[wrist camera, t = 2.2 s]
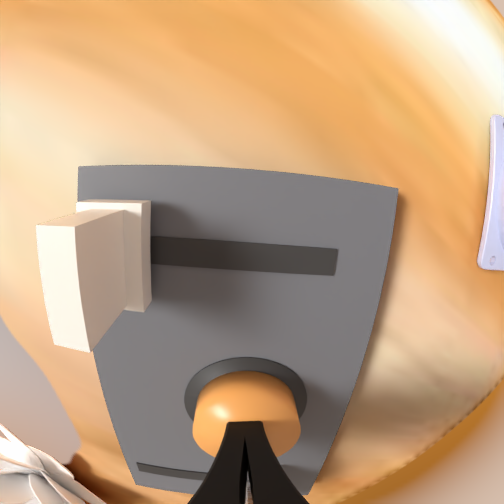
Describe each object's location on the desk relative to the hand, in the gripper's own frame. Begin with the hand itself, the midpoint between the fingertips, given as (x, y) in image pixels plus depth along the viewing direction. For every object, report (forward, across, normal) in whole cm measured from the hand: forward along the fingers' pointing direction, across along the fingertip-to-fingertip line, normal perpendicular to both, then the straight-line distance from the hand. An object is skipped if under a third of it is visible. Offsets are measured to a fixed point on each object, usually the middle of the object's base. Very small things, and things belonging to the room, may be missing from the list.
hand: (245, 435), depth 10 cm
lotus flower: (+4, +19, +14) cm, 24 cm away
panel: (+3, +1, 0) cm, 3 cm away
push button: (+2, 0, 0) cm, 3 cm away
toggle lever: (+2, +4, -8) cm, 9 cm away
